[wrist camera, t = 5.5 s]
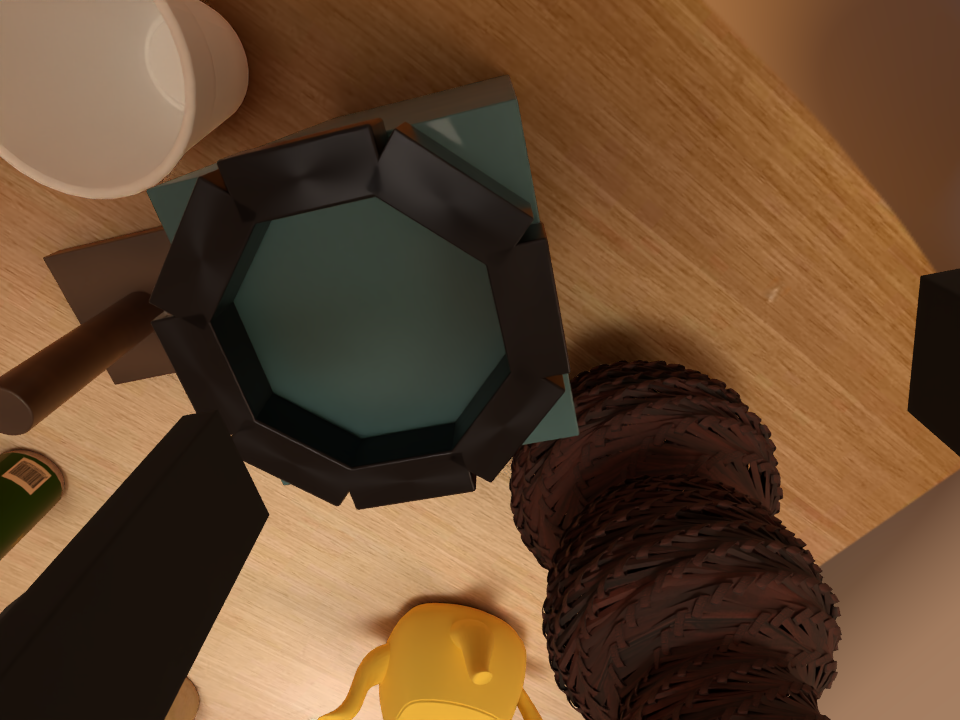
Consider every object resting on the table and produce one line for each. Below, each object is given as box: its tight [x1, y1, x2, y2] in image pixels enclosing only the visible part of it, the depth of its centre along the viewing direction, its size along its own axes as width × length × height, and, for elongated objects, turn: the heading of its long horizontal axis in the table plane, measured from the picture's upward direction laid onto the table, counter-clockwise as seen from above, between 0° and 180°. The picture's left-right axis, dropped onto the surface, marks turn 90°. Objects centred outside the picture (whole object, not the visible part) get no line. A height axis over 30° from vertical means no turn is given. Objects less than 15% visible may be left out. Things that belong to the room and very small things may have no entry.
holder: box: [0, 226, 176, 435], centre depth 33 cm, size 9×9×14 cm
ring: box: [149, 118, 571, 510], centre depth 17 cm, size 11×11×2 cm
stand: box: [147, 75, 579, 485], centre depth 26 cm, size 10×10×20 cm
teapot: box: [317, 603, 542, 720], centre depth 48 cm, size 14×13×10 cm
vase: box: [509, 360, 842, 720], centre depth 29 cm, size 15×15×30 cm
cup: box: [0, 0, 249, 199], centre depth 28 cm, size 10×10×11 cm
